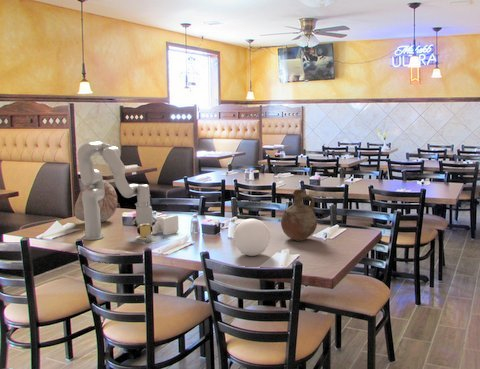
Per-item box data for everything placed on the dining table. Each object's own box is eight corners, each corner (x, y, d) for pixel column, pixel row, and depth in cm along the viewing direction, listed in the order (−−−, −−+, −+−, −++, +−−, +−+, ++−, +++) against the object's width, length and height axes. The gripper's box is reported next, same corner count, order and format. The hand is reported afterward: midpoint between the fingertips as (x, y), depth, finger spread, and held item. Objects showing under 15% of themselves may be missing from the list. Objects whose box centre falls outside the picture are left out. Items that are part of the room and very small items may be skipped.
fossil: (115, 217, 383) (113, 177, 379) (122, 224, 360) (120, 181, 356) (72, 221, 371) (69, 180, 367) (76, 228, 347) (73, 185, 343)
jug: (279, 235, 321) (279, 188, 317) (313, 234, 321) (314, 187, 317) (282, 244, 299) (282, 193, 295) (319, 243, 300) (319, 193, 295)
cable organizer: (163, 237, 320) (163, 219, 319) (151, 235, 326) (150, 217, 324) (179, 232, 333) (178, 214, 331) (166, 230, 338) (165, 213, 337)
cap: (139, 234, 318) (138, 223, 317) (149, 233, 320) (148, 222, 318) (140, 236, 312) (139, 226, 311) (150, 235, 314) (150, 225, 312)
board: (123, 241, 310) (123, 233, 309) (145, 236, 324) (145, 227, 323) (148, 247, 297) (148, 238, 296) (170, 240, 311) (170, 232, 310)
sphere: (253, 248, 292) (252, 213, 289) (278, 255, 277) (278, 219, 274) (226, 255, 279) (225, 219, 276) (250, 262, 264) (250, 224, 261)
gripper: (129, 206, 307) (131, 236, 309) (158, 204, 312) (159, 233, 314) (128, 204, 314) (130, 233, 316) (157, 202, 319) (158, 231, 321)
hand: (144, 233), depth 315 cm, fingers closed on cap, 6 cm apart
